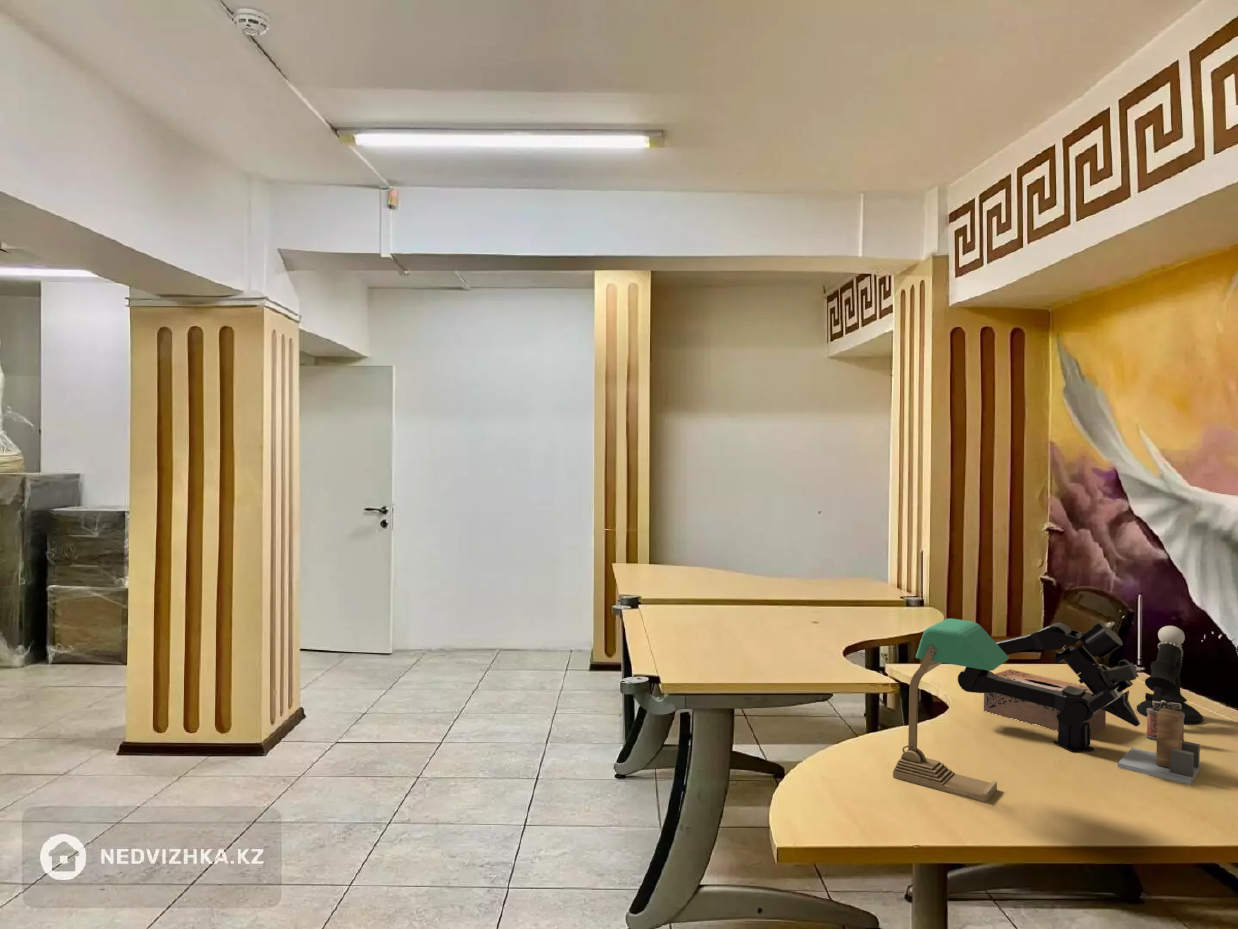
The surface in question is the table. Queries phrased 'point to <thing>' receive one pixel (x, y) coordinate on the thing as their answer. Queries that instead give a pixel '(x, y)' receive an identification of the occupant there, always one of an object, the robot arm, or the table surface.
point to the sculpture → (1168, 675)
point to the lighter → (1153, 718)
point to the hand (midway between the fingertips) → (1138, 725)
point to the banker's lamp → (937, 646)
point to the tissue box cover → (1032, 710)
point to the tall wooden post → (1168, 734)
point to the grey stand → (1180, 770)
